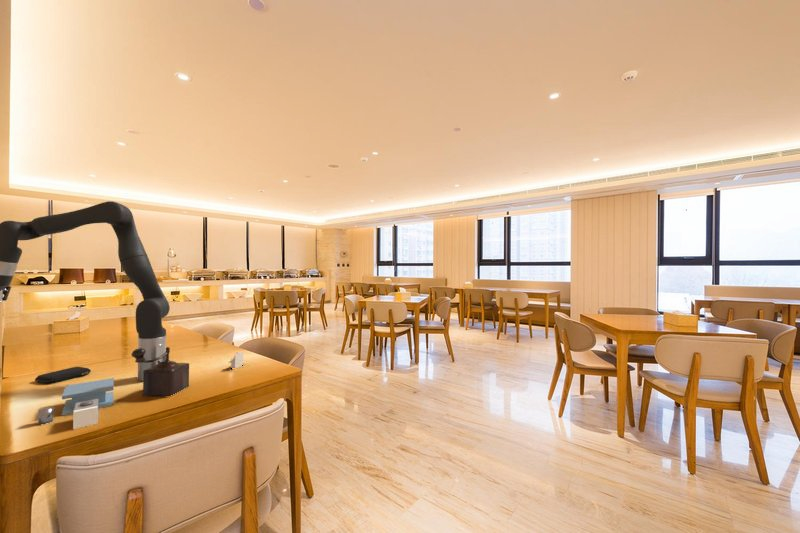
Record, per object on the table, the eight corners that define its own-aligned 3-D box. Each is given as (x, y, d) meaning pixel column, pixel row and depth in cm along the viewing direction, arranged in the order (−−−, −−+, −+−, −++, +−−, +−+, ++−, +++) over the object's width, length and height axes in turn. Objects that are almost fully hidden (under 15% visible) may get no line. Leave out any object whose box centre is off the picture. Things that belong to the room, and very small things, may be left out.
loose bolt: (53, 418, 98) (54, 405, 98) (52, 422, 96) (52, 409, 96) (39, 422, 96) (39, 408, 96) (37, 425, 94) (37, 412, 94)
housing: (75, 419, 98) (76, 400, 98) (98, 414, 101) (98, 396, 101) (73, 429, 92) (73, 410, 92) (97, 424, 95) (97, 405, 95)
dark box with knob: (162, 385, 126) (163, 339, 126) (189, 386, 126) (190, 340, 126) (127, 402, 111) (128, 349, 111) (158, 403, 110) (159, 350, 110)
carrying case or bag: (49, 386, 125) (94, 374, 139) (49, 378, 125) (95, 367, 139) (32, 383, 128) (78, 372, 142) (32, 375, 128) (78, 365, 142)
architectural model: (228, 370, 147) (228, 354, 147) (238, 365, 154) (238, 350, 154) (234, 370, 147) (235, 354, 147) (244, 366, 153) (244, 350, 154)
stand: (113, 394, 117) (113, 377, 117) (113, 405, 108) (113, 387, 108) (66, 403, 109) (66, 385, 109) (61, 415, 100) (61, 396, 100)
